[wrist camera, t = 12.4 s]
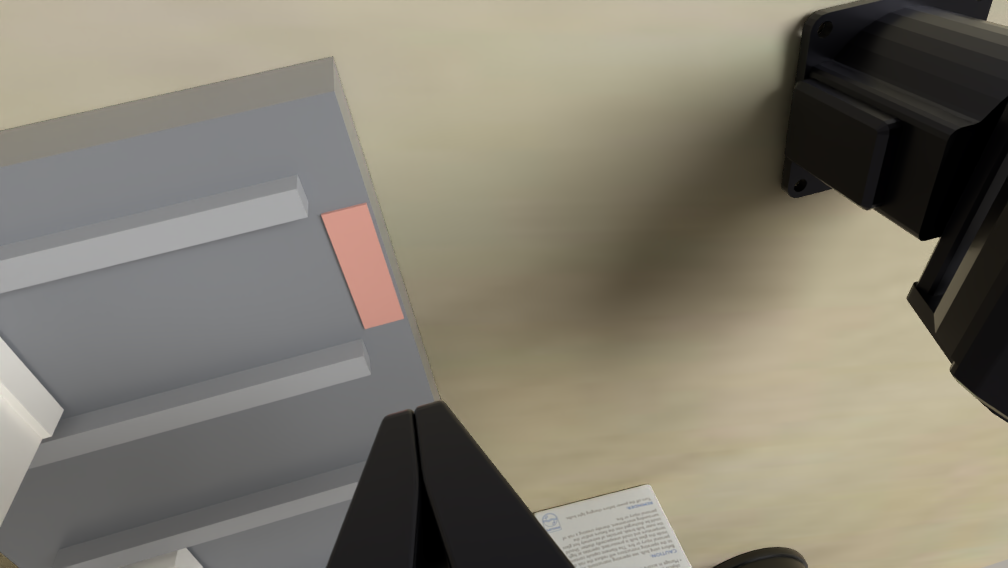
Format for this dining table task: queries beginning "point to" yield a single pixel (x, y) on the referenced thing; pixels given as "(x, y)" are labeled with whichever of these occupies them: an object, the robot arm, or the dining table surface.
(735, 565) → the french press
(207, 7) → the dining table surface
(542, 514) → the light bulb box
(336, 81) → the breaker panel
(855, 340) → the dining table surface
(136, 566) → the tall cream cuboid
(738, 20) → the dining table surface
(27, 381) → the white block
